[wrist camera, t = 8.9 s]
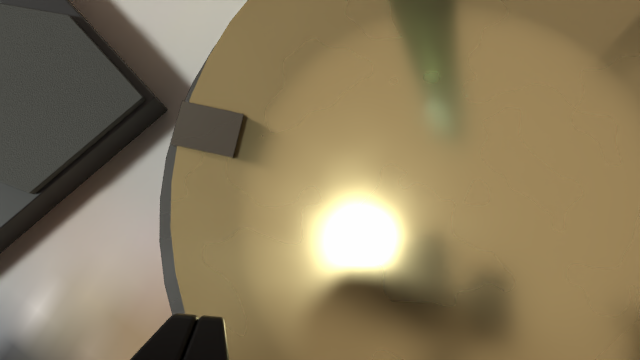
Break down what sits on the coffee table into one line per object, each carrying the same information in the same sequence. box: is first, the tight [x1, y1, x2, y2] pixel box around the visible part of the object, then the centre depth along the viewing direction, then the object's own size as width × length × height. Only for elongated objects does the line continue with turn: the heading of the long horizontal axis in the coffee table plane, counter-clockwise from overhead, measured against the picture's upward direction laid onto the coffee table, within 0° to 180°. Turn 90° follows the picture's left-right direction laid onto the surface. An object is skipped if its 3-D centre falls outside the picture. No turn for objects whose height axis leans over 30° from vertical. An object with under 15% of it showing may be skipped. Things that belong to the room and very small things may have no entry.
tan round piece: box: [170, 0, 640, 360], centre depth 9 cm, size 15×15×10 cm
